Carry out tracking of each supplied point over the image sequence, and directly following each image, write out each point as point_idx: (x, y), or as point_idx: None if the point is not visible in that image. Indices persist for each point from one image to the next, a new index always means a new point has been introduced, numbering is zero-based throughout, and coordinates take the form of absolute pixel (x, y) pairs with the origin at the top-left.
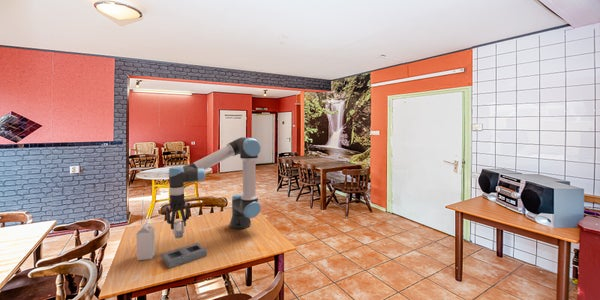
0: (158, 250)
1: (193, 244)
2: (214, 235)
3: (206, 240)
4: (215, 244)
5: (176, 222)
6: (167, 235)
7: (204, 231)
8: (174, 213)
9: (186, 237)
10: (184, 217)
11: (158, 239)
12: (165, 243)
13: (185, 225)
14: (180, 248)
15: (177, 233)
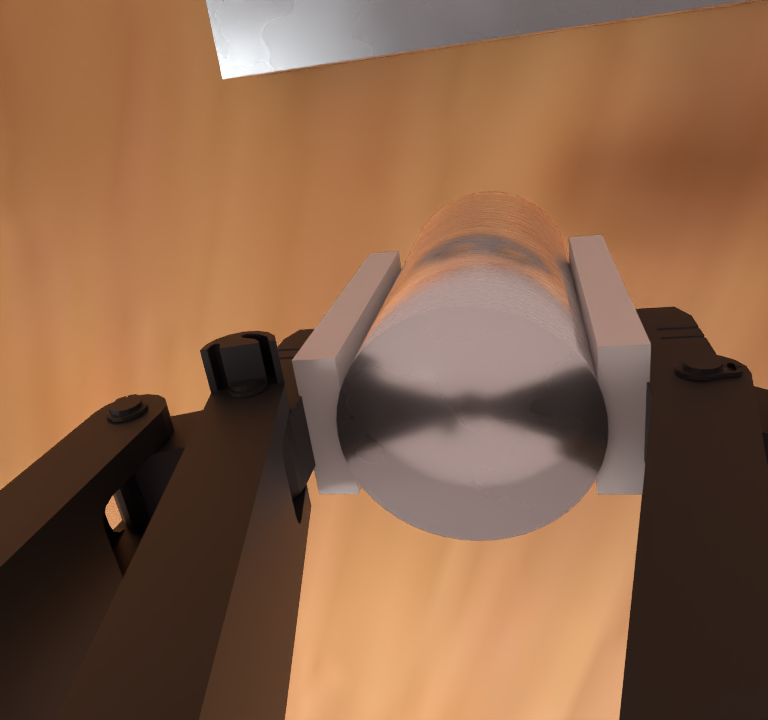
0: (743, 360)
1: (300, 46)
2: (15, 352)
3: (120, 269)
4: (21, 56)
5: (530, 422)
6: (496, 676)
7: (113, 525)
8: (722, 718)
9: (324, 504)
10: (214, 446)
11: (616, 648)
12: (587, 503)
13: (295, 334)
14: (536, 1)
15: (533, 230)
